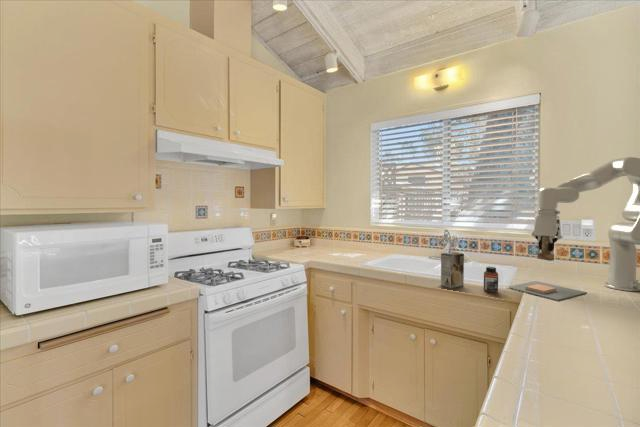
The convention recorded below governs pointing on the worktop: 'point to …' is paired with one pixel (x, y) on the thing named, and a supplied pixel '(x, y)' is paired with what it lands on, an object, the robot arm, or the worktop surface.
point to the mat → (557, 296)
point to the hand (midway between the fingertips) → (546, 249)
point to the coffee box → (452, 269)
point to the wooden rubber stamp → (545, 250)
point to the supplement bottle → (491, 280)
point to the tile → (540, 288)
